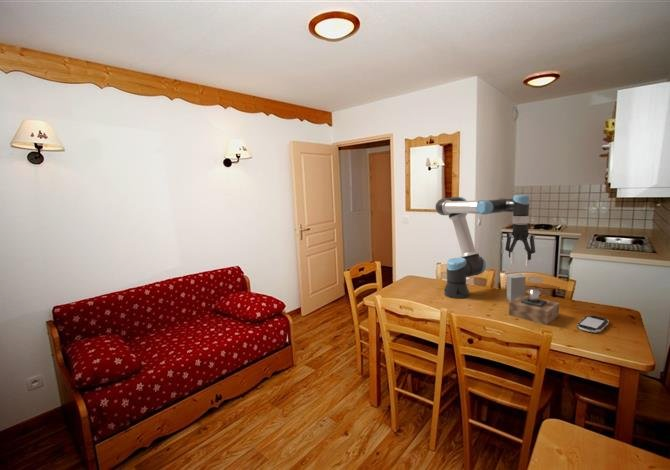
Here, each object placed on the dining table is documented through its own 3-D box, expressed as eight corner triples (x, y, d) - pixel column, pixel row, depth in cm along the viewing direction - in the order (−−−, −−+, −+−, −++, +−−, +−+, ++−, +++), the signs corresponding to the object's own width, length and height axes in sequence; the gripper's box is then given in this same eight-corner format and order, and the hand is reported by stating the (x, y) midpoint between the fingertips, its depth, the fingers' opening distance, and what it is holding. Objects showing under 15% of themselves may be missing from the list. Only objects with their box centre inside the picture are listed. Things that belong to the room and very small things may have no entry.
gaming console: (597, 336, 144) (598, 331, 144) (574, 329, 151) (574, 324, 151) (610, 323, 155) (611, 318, 155) (588, 317, 163) (588, 313, 162)
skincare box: (520, 298, 193) (520, 273, 191) (525, 302, 186) (526, 276, 184) (505, 298, 194) (506, 273, 191) (510, 302, 187) (511, 277, 184)
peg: (528, 304, 168) (528, 290, 167) (531, 302, 171) (531, 288, 169) (536, 306, 165) (537, 291, 164) (539, 304, 167) (540, 289, 166)
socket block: (508, 314, 171) (509, 300, 170) (521, 306, 180) (522, 293, 179) (547, 325, 157) (547, 309, 156) (558, 315, 166) (559, 301, 165)
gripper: (498, 223, 178) (497, 262, 182) (538, 225, 163) (537, 268, 166) (504, 221, 183) (504, 260, 186) (544, 223, 167) (542, 265, 171)
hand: (519, 264), depth 176 cm, fingers open, 7 cm apart
